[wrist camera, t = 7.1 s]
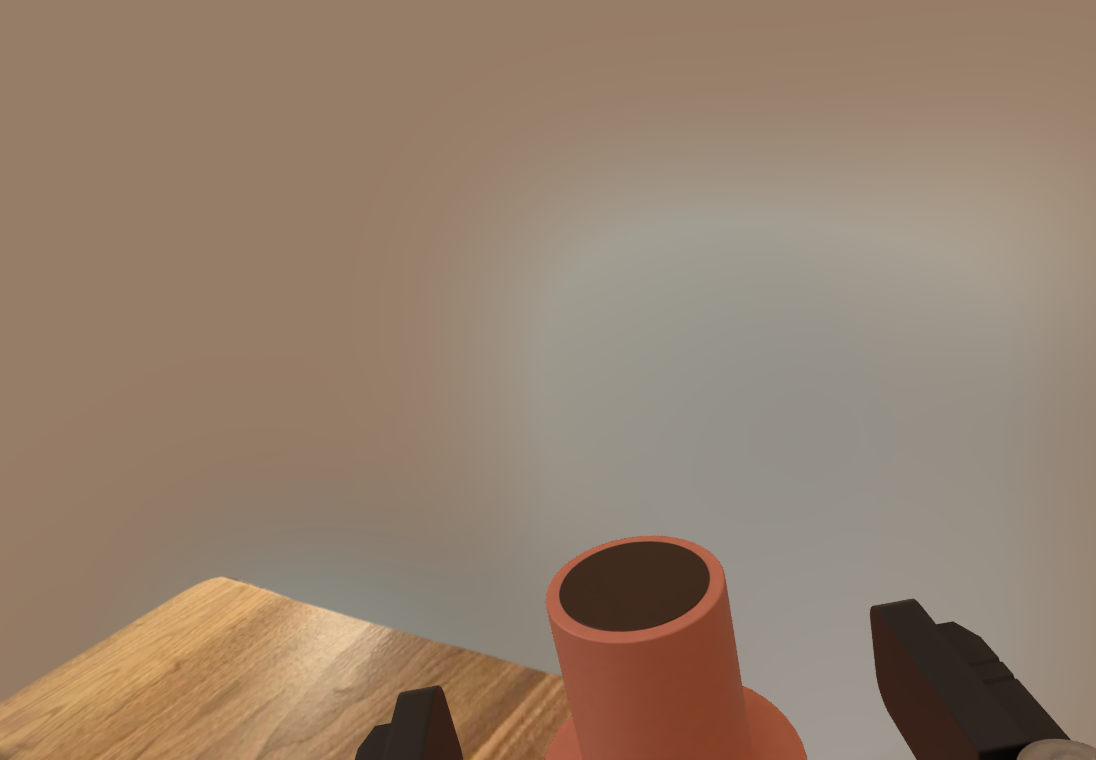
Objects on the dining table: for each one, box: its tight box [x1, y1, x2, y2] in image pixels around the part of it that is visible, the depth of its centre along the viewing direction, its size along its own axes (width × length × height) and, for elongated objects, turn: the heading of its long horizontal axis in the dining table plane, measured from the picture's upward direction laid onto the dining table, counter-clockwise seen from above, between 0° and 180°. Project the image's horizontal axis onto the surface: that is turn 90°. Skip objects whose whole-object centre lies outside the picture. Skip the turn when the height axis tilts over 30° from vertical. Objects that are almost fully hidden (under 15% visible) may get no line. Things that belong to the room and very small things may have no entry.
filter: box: [544, 536, 807, 760], centre depth 29 cm, size 10×10×10 cm
